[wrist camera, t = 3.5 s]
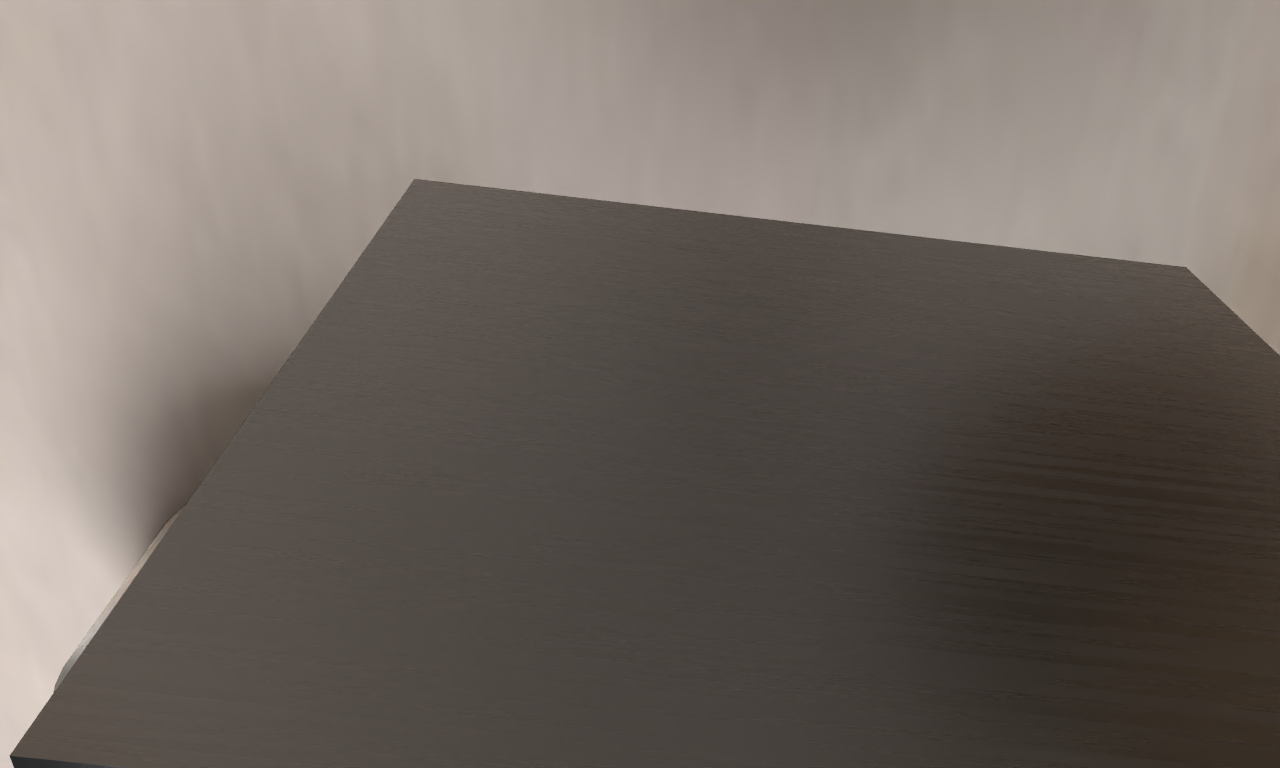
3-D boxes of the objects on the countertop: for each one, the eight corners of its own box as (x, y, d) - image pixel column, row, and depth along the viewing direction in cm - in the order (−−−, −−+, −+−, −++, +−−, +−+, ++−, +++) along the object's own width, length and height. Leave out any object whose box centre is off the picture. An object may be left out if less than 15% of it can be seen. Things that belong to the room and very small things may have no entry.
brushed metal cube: (967, 762, 10) (1168, 1450, 6) (423, 705, 10) (235, 1367, 6) (1186, 266, 7) (1907, 946, 3) (413, 179, 7) (9, 756, 3)
